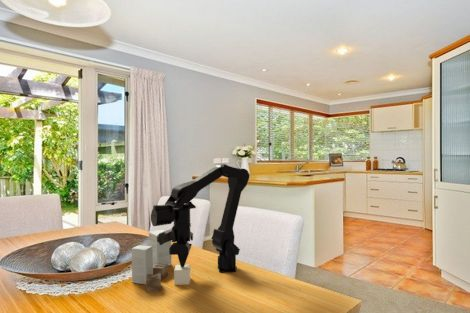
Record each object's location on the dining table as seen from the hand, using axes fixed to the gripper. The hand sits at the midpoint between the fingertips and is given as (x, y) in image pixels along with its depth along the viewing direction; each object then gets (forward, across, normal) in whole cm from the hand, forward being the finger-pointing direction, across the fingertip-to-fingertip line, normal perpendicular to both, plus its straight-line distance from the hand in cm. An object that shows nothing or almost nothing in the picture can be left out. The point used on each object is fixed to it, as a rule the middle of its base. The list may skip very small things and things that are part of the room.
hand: (182, 266), depth 105 cm
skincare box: (+5, -1, -14) cm, 15 cm away
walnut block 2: (+5, +5, -9) cm, 11 cm away
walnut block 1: (+5, -5, -9) cm, 12 cm away
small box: (+5, -17, -11) cm, 21 cm away
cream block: (+5, 0, 0) cm, 5 cm away
